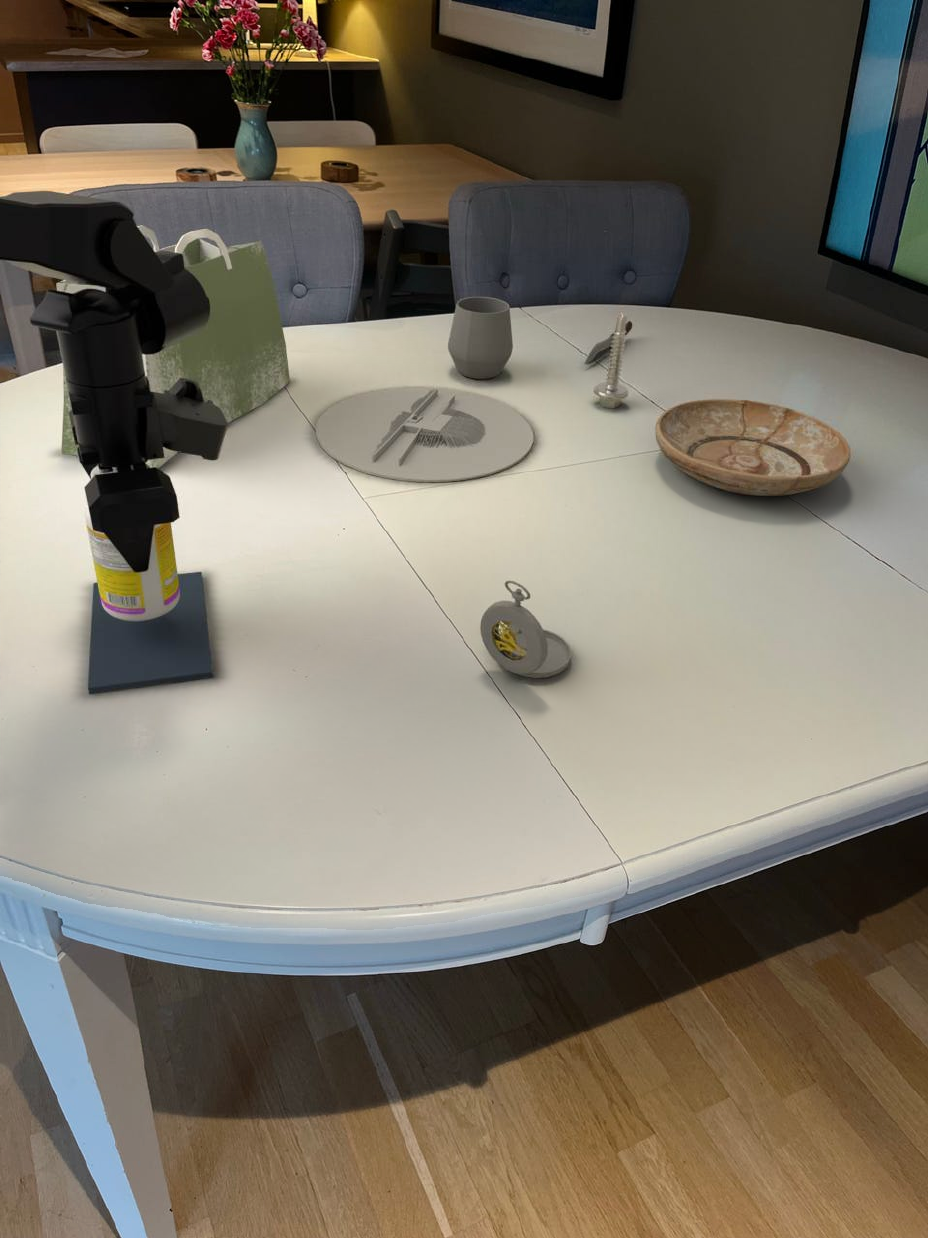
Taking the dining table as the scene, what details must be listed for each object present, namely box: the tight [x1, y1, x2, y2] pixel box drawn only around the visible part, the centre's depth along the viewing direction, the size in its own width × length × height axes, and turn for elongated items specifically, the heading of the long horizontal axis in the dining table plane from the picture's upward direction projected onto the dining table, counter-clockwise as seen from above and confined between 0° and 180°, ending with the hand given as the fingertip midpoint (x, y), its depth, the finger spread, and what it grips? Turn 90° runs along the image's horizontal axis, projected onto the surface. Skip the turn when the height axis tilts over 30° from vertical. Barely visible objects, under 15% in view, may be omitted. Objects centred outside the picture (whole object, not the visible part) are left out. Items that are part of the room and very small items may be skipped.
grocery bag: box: [55, 225, 291, 469], centre depth 117 cm, size 32×14×23 cm, turn 159°
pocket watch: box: [479, 580, 572, 679], centre depth 82 cm, size 8×8×10 cm
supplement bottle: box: [84, 464, 180, 621], centre depth 81 cm, size 7×7×13 cm
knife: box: [583, 320, 633, 365], centre depth 150 cm, size 18×2×3 cm, turn 150°
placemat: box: [87, 571, 214, 694], centre depth 86 cm, size 16×10×1 cm, turn 16°
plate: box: [315, 387, 534, 483], centre depth 123 cm, size 28×28×1 cm
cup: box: [447, 296, 514, 380], centre depth 138 cm, size 10×9×10 cm
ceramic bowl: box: [654, 398, 851, 497], centre depth 117 cm, size 23×24×5 cm
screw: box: [593, 311, 630, 409], centre depth 130 cm, size 13×5×5 cm
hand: (135, 550), depth 81 cm, fingers closed on supplement bottle, 7 cm apart
